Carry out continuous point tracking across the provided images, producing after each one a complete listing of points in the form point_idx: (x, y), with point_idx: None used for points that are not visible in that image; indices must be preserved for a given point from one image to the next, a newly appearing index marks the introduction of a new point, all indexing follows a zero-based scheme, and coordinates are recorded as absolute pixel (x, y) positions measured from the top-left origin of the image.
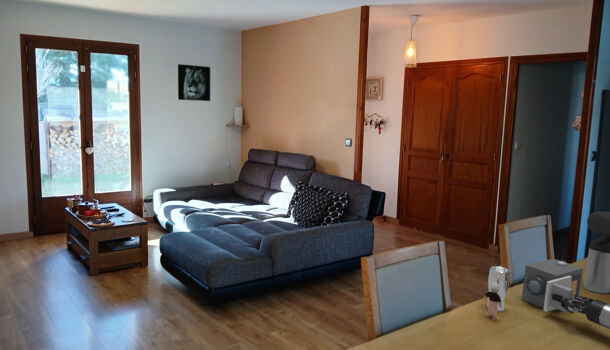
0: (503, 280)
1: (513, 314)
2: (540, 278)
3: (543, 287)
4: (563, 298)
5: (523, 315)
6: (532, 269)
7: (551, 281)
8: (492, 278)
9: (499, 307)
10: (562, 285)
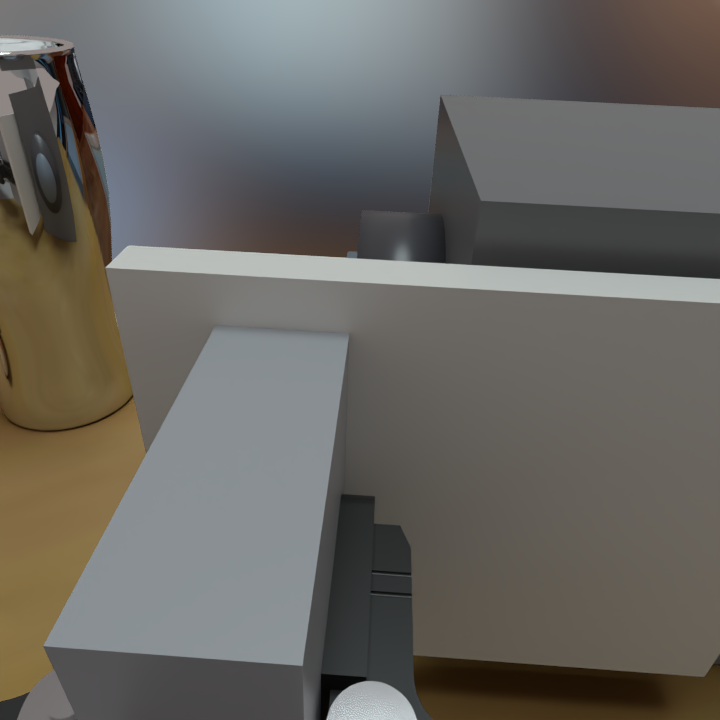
0: None
1: (26, 492)
2: (401, 238)
3: None
4: (29, 702)
5: (66, 541)
6: (442, 136)
7: (211, 264)
8: None
9: (6, 396)
10: (571, 416)
